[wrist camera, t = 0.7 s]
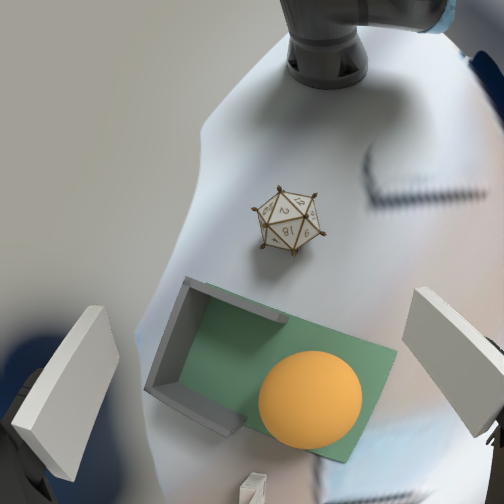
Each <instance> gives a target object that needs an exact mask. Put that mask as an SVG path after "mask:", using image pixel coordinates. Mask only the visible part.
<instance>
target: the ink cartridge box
mask: <svg viewBox="0 0 504 504" xmlns="http://www.w3.org/2000/svg"><path fill="white" fill-rule="evenodd" d="M266 481H267V474H261V473H255V472H252V473H251V474H250V475H249V477H248V478H247V479H246V480H245V482H244V483H243V484H242V485H241V486H240V496H239V504H264V502H265V491H266Z"/></svg>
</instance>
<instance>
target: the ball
mask: <svg viewBox="0 0 504 504" xmlns="http://www.w3.org/2000/svg"><path fill="white" fill-rule="evenodd" d="M258 405H259V412H260V416H261V419H262V421H263V423H264V425H265V427H266V428H267V430H268V431H269V432H270V433H271V434H272V435H273V436H274V437H275V438H276V439H277V440H279V441H280V442H282V443H284V444H286V445H288V446H291V447H294V448H299V449H317V448H321V447H325V446H328V445H330V444H332V443H334V442H336V441H338V440H339V439H341V438H342V437H343V436H344V435H346V434H347V432H348V431H349V430H350V429H351V428H352V427H353V425H354V424H355V422H356V420H357V418H358V416H359V413H360V410H361V405H362V390H361V385H360V382H359V380H358V378H357V376H356V374H355V372H354V371H353V370H352V368H351V367H350V366H349V365H348V364H347V363H346V362H344V361H343V360H342V359H340V358H338V357H337V356H334V355H332V354H329V353H326V352H321V351H304V352H299V353H296V354H293V355H290V356H288V357H286V358H284V359H283V360H282V361H280V362H279V363H278V364H276V365H275V366H274V367H273V368H272V369H271V370H270V372H269V373H268V374H267V376H266V377H265V379H264V381H263V383H262V386H261V389H260V393H259V400H258Z"/></svg>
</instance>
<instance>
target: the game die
mask: <svg viewBox="0 0 504 504" xmlns="http://www.w3.org/2000/svg"><path fill="white" fill-rule="evenodd" d="M281 188H282V187H280V186H279V185H278V187H277V191H279V192H278V193H277V194H276V195H275V196H273V197H272V198H271V199H270V200H268V201H267V202H266V203H265V204H264V205H262V206H261V207H260V208H259V209H257V208H255V207H253V208H251V209H252V210H253V211H257V213H258V218H259V222H260V227H261V231H262V236H263V240H264V244H262V245H261V247H260V249H264V247H265V246H266V245H267V246H272V247H276V248H281V249H285V250H290V251H292V252H291V253H292V254H291V255H293V256H294V258H295V255H296V253H298V251H299V250H298V248H299V247H301V246H302V245H304V244H305V243H307V242H308V241H310V240H311V239H313V238H314V237H316V236H317V235H319V234H321V235H323V236H325V235H327V234H326V233H325V232H321V231H320V227H319V222H318V218H317V213H316V209H315V204H314V200H313V199H314V198H315V197H317V193H314V194H313V195H312V197H309V196H304V195H299V194H294V193H288V192H285V191H284V190H283V191H282V189H281Z"/></svg>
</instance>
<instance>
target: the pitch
mask: <svg viewBox="0 0 504 504" xmlns="http://www.w3.org/2000/svg"><path fill="white" fill-rule="evenodd" d="M304 351H321V352H326V353H329V354H332V355H334V356H337V357H338V358H340V359H342V360H343V361H344V362H346V363H347V364H348V365H349V366H350V367H351V368H352V370H353V371H354V372H355V374H356V376H357V378H358V380H359V382H360V385H361V390H362V405H361V410H360V413H359V416H358V418H357V420H356V422H355V424H354V425H353V427H352V428H351V429H350V430H349V431H348V432H347V434H346V435H344V436H343V437H342V438H341V439H339V440H338V441H336V442H334V443H332V444H330V445H328V446H325V447H321V448H317V449H304V450H307V451H310V452H313V453H315V454H318V455H321V456H324V457H327V458H331V459H334V460H337V461H340V462H343V463H346V462H347V460H348V459H349V457H350V455H351V453H352V451H353V450H354V448H355V446H356V444H357V442H358V440H359V438H360V436H361V434H362V432H363V430H364V428H365V426H366V424H367V422H368V420H369V418H370V416H371V414H372V412H373V410H374V407H375V405H376V403H377V401H378V399H379V396H380V394H381V392H382V389H383V387H384V385H385V382H386V380H387V377H388V375H389V372H390V370H391V367H392V365H393V362H394V359H395V357H396V354H397V351H395V350H392V349H389V348H386V347H382V346H379V345H376V344H373V343H370V342H367V341H364V340H361V339H358V338H355V337H352V336H349V335H346V334H343V333H340V332H337V331H334V330H332V329H329V328H326V327H323V326H320V325H317V324H314V323H312V322H309V321H306V320H303V319H300V318H298V317H295V316H292V315H289V314H287V313H284V312H281V311H279V310H276V309H273V308H271V307H268V306H265V305H263V304H260V303H257V302H255V301H252V300H249V299H247V298H244V297H242V296H239V295H237V294H234V293H231V292H229V291H226V290H224V289H221V288H219V287H216V286H214V285H211V284H209V283H205V284H204V283H202V282H199V281H197V280H194V279H192V278H189V277H187V276H186V277H185V279H184V282H183V284H182V287H181V289H180V292H179V294H178V297H177V299H176V302H175V305H174V307H173V310H172V312H171V315H170V318H169V320H168V323H167V326H166V328H165V331H164V334H163V336H162V339H161V342H160V345H159V347H158V350H157V353H156V356H155V359H154V361H153V364H152V367H151V370H150V373H149V376H148V379H147V381H146V384H145V387H144V391H146V392H148V393H149V394H151V395H152V396H154V397H155V398H157V399H158V400H160V401H162V402H163V403H165V404H166V405H168V406H170V407H171V408H173V409H175V410H176V411H178V412H180V413H182V414H183V415H185V416H187V417H189V418H190V419H192V420H194V421H196V422H197V423H199V424H201V425H203V426H205V427H207V428H209V429H211V430H212V431H214V432H216V433H218V434H220V435H222V436H224V437H226V438H228V437H229V436H230V435H232V434H233V433H234V432H235V431H236V430H238V429H239V428H240V427H241V426H242V425H246V426H248V427H250V428H252V429H255V430H257V431H259V432H261V433H264V434H266V435H268V436H271V437H273V438H275V437H274V436H273V435H272V434H271V433H270V432H269V431H268V430H267V428H266V427H265V425H264V423H263V421H262V419H261V416H260V412H259V405H258V400H259V393H260V389H261V386H262V383H263V381H264V379H265V377H266V376H267V374H268V373H269V372H270V370H271V369H272V368H273V367H274V366H275V365H276V364H278V363H279V362H280V361H282V360H283V359H284V358H286V357H288V356H290V355H293V354H296V353H299V352H304Z"/></svg>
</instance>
